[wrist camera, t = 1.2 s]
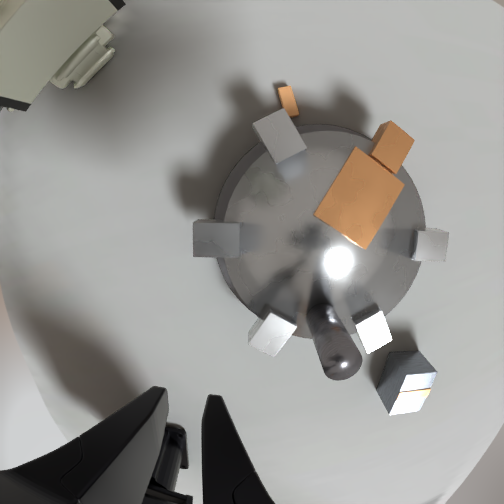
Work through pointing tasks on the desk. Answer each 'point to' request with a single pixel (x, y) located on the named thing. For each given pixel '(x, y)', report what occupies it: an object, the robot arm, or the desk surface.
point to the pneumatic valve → (51, 45)
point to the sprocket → (323, 238)
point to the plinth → (253, 155)
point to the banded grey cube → (405, 382)
